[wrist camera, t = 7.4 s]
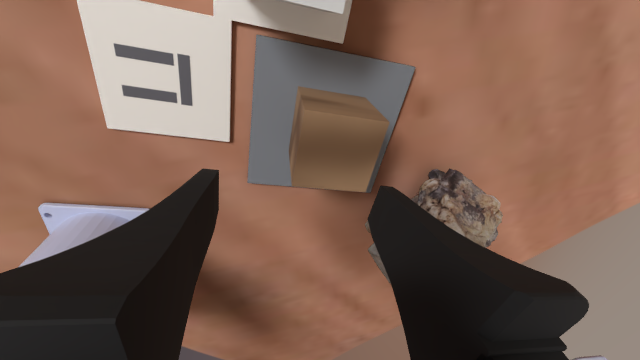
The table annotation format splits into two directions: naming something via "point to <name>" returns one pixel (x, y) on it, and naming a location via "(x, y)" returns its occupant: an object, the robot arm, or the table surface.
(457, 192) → the rock
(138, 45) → the code tile
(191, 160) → the table surface
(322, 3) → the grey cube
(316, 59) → the slate mat
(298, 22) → the code tile
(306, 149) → the walnut cube
